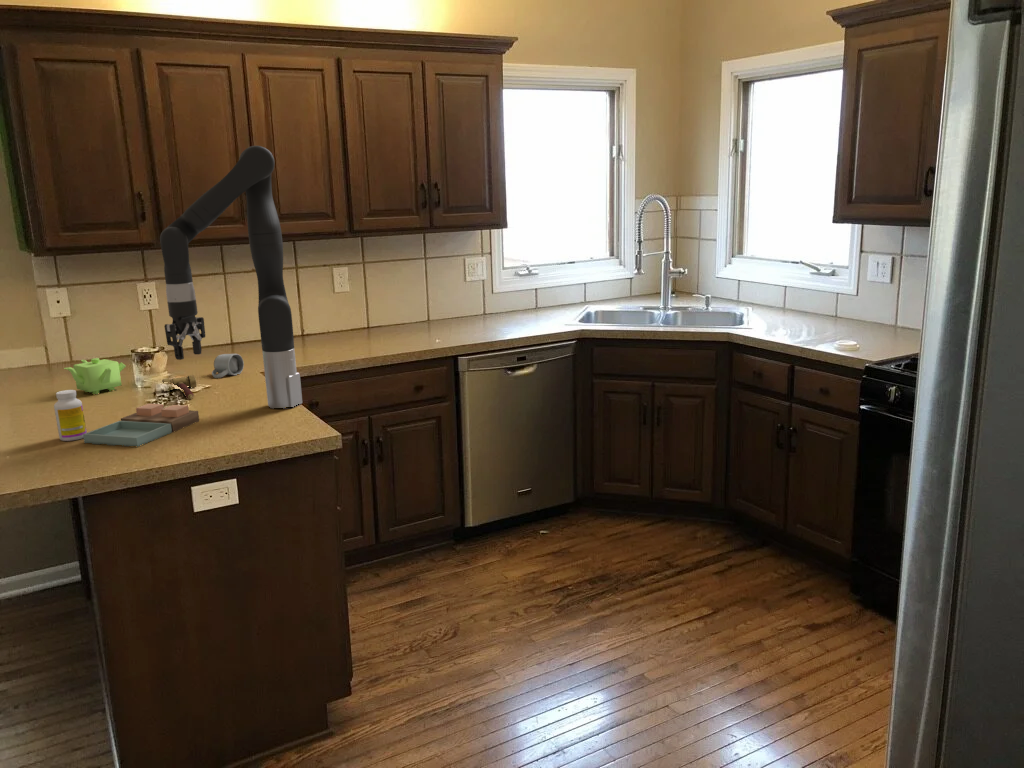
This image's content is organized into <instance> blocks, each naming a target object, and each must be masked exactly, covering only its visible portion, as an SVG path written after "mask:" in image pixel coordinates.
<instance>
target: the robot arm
mask: <svg viewBox="0 0 1024 768" xmlns="http://www.w3.org/2000/svg"><path fill="white" fill-rule="evenodd" d="M275 163H276V162H275V158H274V156H273V153H272V152H271V151H270V150H269V149H267V148H266V147H264V146H261V145H251V146H249V147H247V148H245V149H244V150H243V151H242V152H241V153H240V155H239V157H238V161H237V162H236V163H235V164H234V166H233V167H232V168H231V169H230V171H229V172H228V173H227V174H226V175H225V176H224V177H223V178H222V179H220V181H218V182H217V183H216V184H214V185H213V186H212V187H210V188H209V189H208V190H206V192H204V193H203V194H202V195H201V196H199V197H197V199H196V200H195V201H194V202H193V203H191V205H189V207H187V208H186V210H184V212H183V213H182V214H181V215H180V216H178V218H176V219H175V220H174V221H173V222H171V224H169V225H168V226H167V227H165V228H164V229H163V230H162V232H161V233H160V236H159V241H160V243H159V244H160V249H161V252H162V253H161V254H162V258H163V263H164V265H163V267H164V268H163V272H164V280H165V293H166V302H167V308H168V309H167V310H168V316H169V317H170V318H172V322H171V323H169V324H168V323H166V324H164V332H165V333H164V334H165V338H166V339H165V340H166V344H167V346H171V347H173V351H174V357H175V360H178V361H181V360H184V359H185V356H184V354H185V353H184V348H183V343H184V342H183V341H184V340H185V339H186V337H187V336H189V337H190V339H191V341H192V342H191V344H192V353H193V354H194V355H202V349H203V348H202V343H201V341H202V340H203V339H205V338H206V329H205V327H206V326H205V319H204V316H203V317H201V316H200V317H199V316H197V315H198V312H199V311H198V306H197V298H196V289H195V286H194V282H193V273H192V268H191V264H190V253H189V250H190V249H189V243H191V241H193V240H194V239H195V238H196V237H197V236H198V234H200V233H201V232H203V231H204V230H206V229H207V228H208V227H209V226H211V225H212V224H213V223H214V222H215V221H216V220H217V219H218V218H219V217H220V216H221V215H222V214H223V213H224V212H225V211H226V210H227V209H228V208H229V207H230V206H231V205H232V204H233V203H234V202H235V201H236V200H237V199H238V198H239V197H240V196H241V195H242V194H243V193H245V196H246V219H247V220H246V221H247V222H246V223H247V233H248V242H249V248H250V254H251V259H252V264H253V266H254V269H255V274H256V278H257V289H258V290H257V291H258V293H257V294H258V306H257V313H258V323H259V325H258V326H259V332H260V342H261V343H260V344H261V350H262V351H261V352H262V359H263V369H264V371H263V372H264V379H265V387H266V389H265V391H266V396H267V397H266V398H267V407H268V406H269V407H270V408H269V407H268V408H269V409H274V408H283V409H286V408H285V407H293V408H295V407H297V406H299V405H301V404H303V394H302V393H303V392H302V384H301V375H300V372H298V371H297V362H296V361H297V360H296V351H295V340H294V338H295V337H294V327H293V326H294V325H293V316H292V315H293V314H292V308H291V306H290V304H289V301H288V297H287V292H286V288H285V281H284V272H283V271H284V243H283V236H282V235H283V233H282V228H281V223H280V218H279V215H278V211H277V209H276V205H275V202H274V198H273V190H272V188H273V187H272V174H273V171H274V169H275ZM298 404H299V405H298ZM296 405H297V406H296ZM294 406H295V407H294Z"/></svg>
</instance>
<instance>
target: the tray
mask: <svg viewBox="0 0 1024 768" xmlns="http://www.w3.org/2000/svg"><path fill="white" fill-rule="evenodd" d="M167 434H168V435H170V434H173V432H172V429H171V424H166V423H150V422H133V421H121V420H118V421H115V422H112V423H110V424H107V425H104V426H101V427H99V428H96V429H93V430H91V431H88V432H87V433H85V434H83V438H82V439H83V443H84V444H86V443H92V444H91V445H100V444H107V445H106V446H115V445H122V446H121V447H129V446H137V447H136V448H139V447H141V446H140V445H142V444H144V445H146V444H149V443H151V442H154V441H156V440H158V439H160V438H163V437H165V436H167ZM155 439H156V440H155ZM150 441H151V442H150ZM148 442H149V443H148ZM145 443H146V444H145ZM123 445H124V446H123ZM138 446H139V447H138ZM142 446H143V445H142Z"/></svg>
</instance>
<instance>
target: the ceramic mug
mask: <svg viewBox="0 0 1024 768" xmlns="http://www.w3.org/2000/svg"><path fill="white" fill-rule="evenodd" d="M244 367H245V363H244V359H243V357H242V355H240V354H239V353H223V354H218V355H217V356H216V357H215V358H214V360H213V368H214V369H213V370H212V371H211V376H213V378H215V379H221V378H223V377H225V376H226V375H227V376H238V375H237V374H239V375H240V374H241V373H242V372H243V370H244Z"/></svg>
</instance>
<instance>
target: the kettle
mask: <svg viewBox="0 0 1024 768" xmlns="http://www.w3.org/2000/svg"><path fill="white" fill-rule="evenodd" d="M80 362H82V363H76V364H73V365H72V366H73V367H64V368H63V369H64V370H67V371H69V372H70V374H71V376H72V378H73V380H74V381H75V383H76V389H77V390H80V391H84V392H89V393H91V394H97V395H99V394H98V393H100V392H101V391H103V390H107V391H108V390H109V391H108V392H112V391H111V390H115V391H116V387H121V386H122V380H121V379H122V378H121V372H122V371H123V370H124V369H125V368H126V367H127V366H126V364H124V362H119V361H116V360H111V359H100V358H99V357H95V358H90V361H87V360H86V359H81V360H80ZM100 394H101V393H100Z"/></svg>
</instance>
